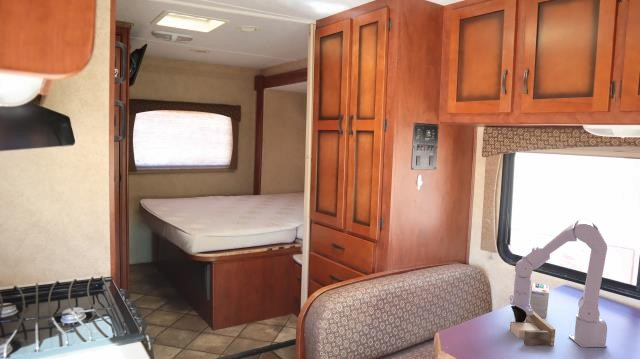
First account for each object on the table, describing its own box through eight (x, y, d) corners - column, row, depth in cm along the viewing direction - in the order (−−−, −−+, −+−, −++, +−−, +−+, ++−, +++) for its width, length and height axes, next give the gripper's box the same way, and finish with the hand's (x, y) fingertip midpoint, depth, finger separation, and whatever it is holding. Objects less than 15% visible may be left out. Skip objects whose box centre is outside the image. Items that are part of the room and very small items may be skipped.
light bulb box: (529, 306, 197) (531, 282, 196) (546, 309, 194) (549, 284, 193) (528, 315, 187) (530, 290, 186) (547, 318, 184) (549, 293, 183)
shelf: (529, 323, 180) (530, 308, 179) (554, 345, 162) (555, 329, 161) (503, 323, 180) (504, 308, 179) (525, 345, 162) (526, 329, 161)
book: (530, 329, 174) (531, 322, 174) (540, 338, 167) (540, 330, 167) (510, 329, 174) (510, 321, 174) (518, 338, 167) (519, 330, 167)
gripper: (503, 284, 181) (500, 317, 182) (520, 298, 166) (517, 334, 168) (521, 284, 181) (518, 317, 183) (539, 298, 167) (536, 334, 168)
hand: (519, 325), depth 175 cm, fingers closed
